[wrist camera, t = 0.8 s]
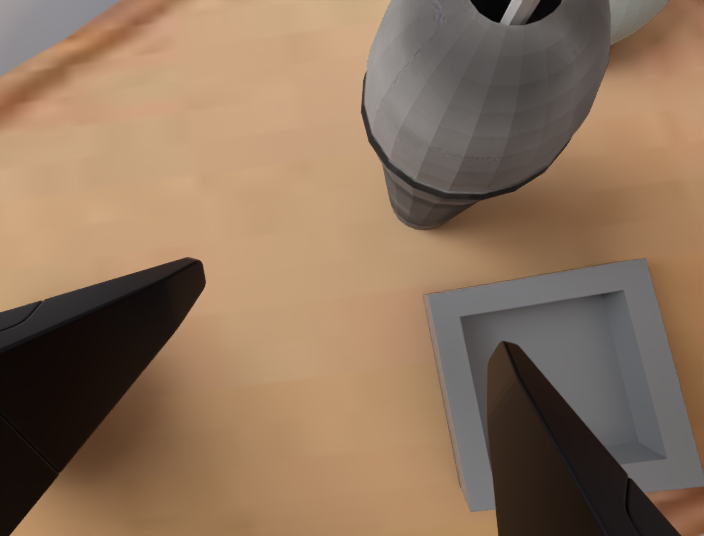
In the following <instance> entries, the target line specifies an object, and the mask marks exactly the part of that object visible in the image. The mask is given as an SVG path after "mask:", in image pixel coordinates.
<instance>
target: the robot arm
mask: <svg viewBox="0 0 704 536" xmlns="http://www.w3.org/2000/svg"><path fill="white" fill-rule="evenodd" d="M205 284H206V280H205V274H204V268H203V264H202V262H201V261H200V260H197V259H194V258H189V257H186V258H183V259H179V260H176V261H173V262H169V263H166V264H163V265H159V266H156V267H153V268H149V269H146V270H142V271H139V272H136V273H132V274H129V275H126V276H122V277H119V278H115V279H112V280H109V281H105V282H102V283H99V284H95V285H92V286H89V287H85V288H82V289H78V290H75V291H72V292H68V293H65V294H62V295H58V296H55V297H52V298H48V299H45V300H44V301H38V302H34V303H31V304H28V305H24V306H21V307H18V308H14V309H10V310H7V311H3V312H0V536H10V534H11V533H12V532H13V531H14V529H15V528H16V527H17V526H18V525H19V523H20V522H21V521H22V520H23V518H24V517H25V516H26V515H27V514H28V512H29V511H30V510H31V509H32V507H33V506H34V505H35V504H36V502H37V501H38V500H39V499H40V498H41V496H42V495H43V494H44V493H45V491H46V490H47V489H48V488H49V487H50V485H51V484H52V483H53V482H54V480H55V479H56V478H57V477H58V475H59V473H60V472H61V471H62V470H63V469H64V468H65V467H66V465H67V464H68V463H69V462H70V460H71V459H72V458H73V457H74V456H75V454H76V453H77V452H78V451H79V449H80V448H81V447H82V446H83V444H84V443H85V442H86V441H87V440H88V438H89V437H90V436H91V435H92V433H93V432H94V431H95V430H96V428H97V427H98V426H99V425H100V424H101V422H102V421H103V420H104V419H105V417H106V416H107V415H108V414H109V413H110V411H111V410H112V409H113V408H114V406H115V405H116V404H117V403H118V401H119V400H120V399H121V398H122V397H123V395H124V394H125V393H126V392H127V390H128V389H129V388H130V387H131V385H132V384H133V383H134V382H135V381H136V379H137V378H138V377H139V376H140V374H141V373H142V372H143V371H144V370H145V368H146V367H147V366H148V365H149V363H150V362H151V361H152V360H153V358H154V357H155V356H156V355H157V354H158V352H159V351H160V350H161V349H162V347H163V346H164V345H165V344H166V343H167V341H168V340H169V339H170V338H171V336H172V335H173V334H174V333H175V331H176V330H177V329H178V327H179V326H180V324H181V323H182V322H183V320H184V319H185V317H186V316H187V314H188V312H189V311H190V309H191V308H192V306H193V305H194V303H195V302H196V300H197V299H198V297H199V296H200V294H201V293H202V291H203V289H204V287H205ZM487 429H488V439H489V449H490V459H491V468H492V478H493V488H494V497H495V507H496V517H497V526H498V536H681V535H680V534H679V532H678V531H677V530H676V529H675V528H674V527H673V526H672V525H671V523H670V522H669V521H668V520H667V519H666V518H665V517H664V515H663V514H662V513H661V512H660V511H659V510H658V509H657V507H656V506H655V505H654V504H653V503H652V502H651V501H650V499H649V498H648V497H647V496H646V495H645V494H644V492H643V491H642V490H641V489H640V488H639V486H638V485H637V484H636V483H635V482H634V481H633V479H632V478H628V474H627V472H626V471H625V470H624V469H623V468H622V467H621V465H620V464H619V463H618V462H617V461H616V459H615V458H614V457H613V456H612V455H611V454H610V452H609V451H608V450H607V449H606V448H605V446H604V445H603V444H602V443H601V442H600V441H599V439H598V438H597V437H596V436H595V435H594V433H593V432H592V431H591V430H590V429H589V428H588V426H587V425H586V424H585V423H584V422H583V421H582V419H581V418H580V417H579V416H578V415H577V413H576V412H575V411H574V410H573V409H572V408H571V406H570V405H569V404H568V403H567V402H566V400H565V399H564V398H563V397H562V396H561V395H560V393H559V392H558V391H557V390H556V389H555V387H554V386H553V385H552V384H551V383H550V382H549V380H548V379H547V378H546V377H545V376H544V374H543V373H542V372H541V371H540V370H539V369H538V367H537V366H536V365H535V364H534V363H533V361H532V360H531V359H530V358H529V357H528V356H527V354H526V353H525V352H524V351H523V350H522V348H521V347H520V346H519V345H517V344H515V343H511V342H508V341H501V342H500V343H499V344H498V345H497V347H496V349H495V350H494V352H493V354H492V355H491V357H490V359H489V361H488V365H487Z"/></svg>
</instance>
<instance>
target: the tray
mask: <svg viewBox="0 0 704 536" xmlns="http://www.w3.org/2000/svg"><path fill="white" fill-rule="evenodd" d="M423 298H424V303H425V308H426V313H427V319H428V324H429V329H430V334H431V339H432V344H433V350H434V355H435V360H436V365H437V370H438V375H439V381H440V386H441V391H442V396H443V401H444V406H445V411H446V417H447V422H448V427H449V432H450V437H451V442H452V448H453V453H454V458H455V463H456V468H457V473H458V478H459V484H460V487H461V489H462V492H463V494H464V497H465V499H466V502H467V504H468V507H469V509H470V512H476V511H485V510H494V509H496V507H495V497H494V488H493V478H492V468H491V459H490V449H489V439H488V429H487V365H488V361H489V359H490V357H491V355H492V354H493V352H494V350H495V349H496V347H497V345H498V344H499V343H500V342H501V341H508V342H511V343H515V344H517V345H519V346H520V347H521V348H522V350H523V351H524V352H525V353H526V354H527V356H528V357H529V358H530V359H531V360H532V361H533V363H534V364H535V365H536V366H537V367H538V369H539V370H540V371H541V372H542V373H543V374H544V376H545V377H546V378H547V379H548V380H549V382H550V383H551V384H552V385H553V386H554V387H555V389H556V390H557V391H558V392H559V393H560V395H561V396H562V397H563V398H564V399H565V400H566V402H567V403H568V404H569V405H570V406H571V408H572V409H573V410H574V411H575V412H576V413H577V415H578V416H579V417H580V418H581V419H582V421H583V422H584V423H585V424H586V425H587V426H588V428H589V429H590V430H591V431H592V432H593V433H594V435H595V436H596V437H597V438H598V439H599V441H600V442H601V443H602V444H603V445H604V446H605V448H606V449H607V450H608V451H609V452H610V454H611V455H612V456H613V457H614V458H615V459H616V461H617V462H618V463H619V464H620V465H621V467H622V468H623V469H624V470H625V471H626V472H627V474H628V478H632V479H633V481H634V482H635V483H636V484H637V485H638V486H639V488H640V489H641V490H642V491H643V492H644V493H648V492H657V491H666V490H675V489H684V488H693V487H702V486H704V474H703V470H702V466H701V462H700V459H699V455H698V451H697V447H696V444H695V440H694V436H693V432H692V429H691V425H690V421H689V417H688V414H687V410H686V406H685V403H684V399H683V395H682V391H681V388H680V384H679V380H678V376H677V373H676V369H675V365H674V361H673V358H672V354H671V350H670V346H669V343H668V339H667V335H666V331H665V328H664V324H663V320H662V316H661V313H660V309H659V305H658V301H657V298H656V294H655V290H654V287H653V283H652V279H651V275H650V272H649V268H648V264H647V260H646V258H642V259H634V260H627V261H619V262H612V263H606V264H600V265H594V266H589V267H583V268H577V269H571V270H565V271H559V272H553V273H548V274H542V275H536V276H530V277H524V278H518V279H512V280H507V281H501V282H495V283H489V284H483V285H477V286H471V287H465V288H460V289H454V290H448V291H442V292H436V293H430V294H424V295H423Z"/></svg>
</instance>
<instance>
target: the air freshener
mask: <svg viewBox="0 0 704 536" xmlns="http://www.w3.org/2000/svg"><path fill="white" fill-rule="evenodd" d="M669 1H670V0H609V4H610V11H611V45H613V44H615V43H617V42H619V41H621V40H623V39H625V38H627V37H629V36H630V35H632V34H633V33H635V32H636V31H638V30H639V29H640V28H642V27H643V26H645V25H646V24H647V23H648V22H650V21H651V20H652V19H653V18H654V17H655V16H656V15H657V14H658V13H659V12H660V11H661V10H662V9H663V8H664V7H665V6H666V4H667V3H668V2H669Z"/></svg>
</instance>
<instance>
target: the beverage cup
mask: <svg viewBox="0 0 704 536" xmlns="http://www.w3.org/2000/svg"><path fill="white" fill-rule="evenodd" d="M610 48H611V11H610V4H609V0H392V1H391V2H390V3H389V6H388V8H387V10H386V12H385V15H384V17H383V19H382V22H381V24H380V26H379V29H378V31H377V34H376V36H375V38H374V41H373V43H372V46H371V48H370V53H369V57H368V61H367V71H366V73H365V77H364V80H363V91H362V105H361V114H362V117H363V121H364V125H365V129H366V133H367V136H368V140H369V143H370V144H371V146H372V147H373V149H374V150H375V152H376V154H377V156H378V157H379V159H380V161H381V163H382V165H383V170H384V175H385V180H386V185H387V189H388V194H389V198H390V202H391V206H392V208H393V211H394V213H395V214H396V216H397V217H398V219H399V220H400V221H401V222H403V223H404V224H405V225H407V226H409V227H412V228H414V229H423V230H427V229H431V228H435V227H437V226H439V225H442V224H444V223H445V222H447V221H448V220H450V219H452V218H453V217H455V216H456V215H458V214H459V213H461V212H463V211H464V210H466V209H467V208H469V207H470V206H472V205H473V204H475V203H477V202H478V201H480V200H484V199H487V198H491V197H495V196H499V195H502V194H506V193H510V192H514V191H516V190H517V189H519V188H520V187H522V186H524V185H525V184H527V183H528V182H530V181H532V180H533V179H535V178H536V177H538V176H540V175H541V174H543V173H544V172H545V171H546V170H547V169H548V167H549V166H550V165H551V164H552V163H553V161H554V160H555V159H556V158H557V157H558V156H559V154H560V153H561V152H562V151H563V150H564V148H565V147H566V146H567V144H568V143H569V141H570V140H571V137H572V136H573V135H574V133H575V132H576V131H577V130H578V129H579V127H580V126H581V124H582V123H583V122H584V120H585V119H586V117H587V116H588V114H589V112H590V109H591V107H592V105H593V102H594V100H595V97H596V95H597V92H598V89H599V87H600V84H601V81H602V79H603V76H604V74H605V71H606V68H607V66H608V61H609V54H610Z"/></svg>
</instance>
